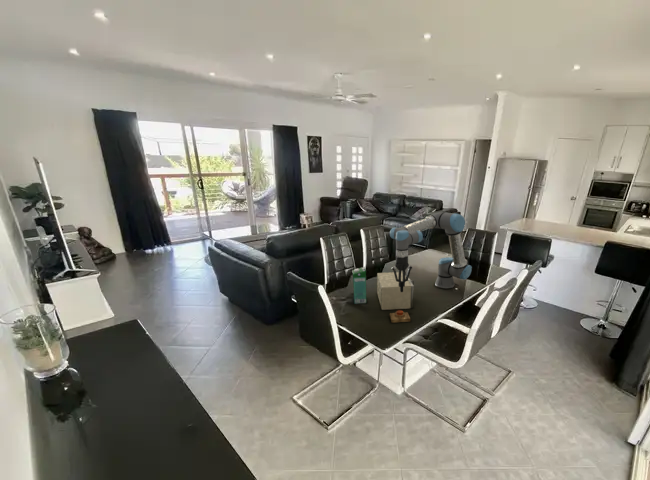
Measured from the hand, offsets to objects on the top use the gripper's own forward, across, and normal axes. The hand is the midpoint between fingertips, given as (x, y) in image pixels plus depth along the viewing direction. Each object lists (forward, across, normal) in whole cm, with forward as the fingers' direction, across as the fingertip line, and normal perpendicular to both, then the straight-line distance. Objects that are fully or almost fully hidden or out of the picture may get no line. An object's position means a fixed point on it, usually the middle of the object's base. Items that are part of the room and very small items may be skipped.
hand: (401, 291), depth 205 cm
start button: (+15, -2, -3) cm, 15 cm away
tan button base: (+18, -2, -3) cm, 19 cm away
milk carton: (+19, -26, +28) cm, 42 cm away
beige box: (+19, 0, +25) cm, 31 cm away
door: (+18, +12, +21) cm, 30 cm away
